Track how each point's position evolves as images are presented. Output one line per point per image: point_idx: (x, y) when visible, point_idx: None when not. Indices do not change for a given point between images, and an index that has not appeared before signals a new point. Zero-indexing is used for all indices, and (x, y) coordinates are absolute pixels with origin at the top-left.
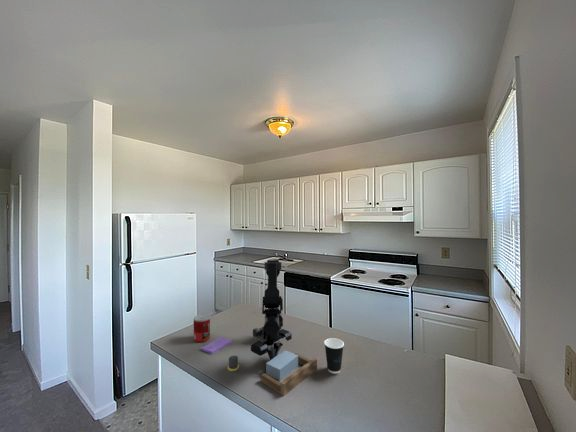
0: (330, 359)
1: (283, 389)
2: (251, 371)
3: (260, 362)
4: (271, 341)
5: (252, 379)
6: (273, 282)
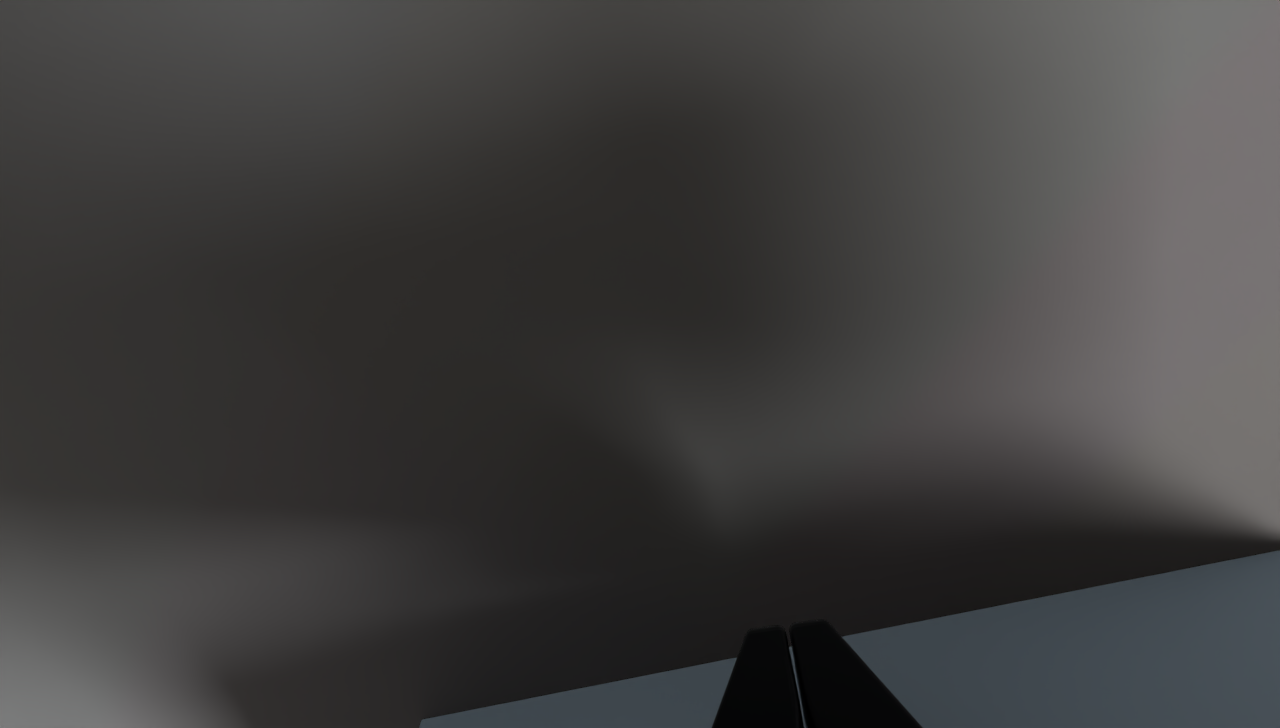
0: None
1: None
2: (63, 420)
3: (551, 160)
4: None
5: (11, 698)
6: None
